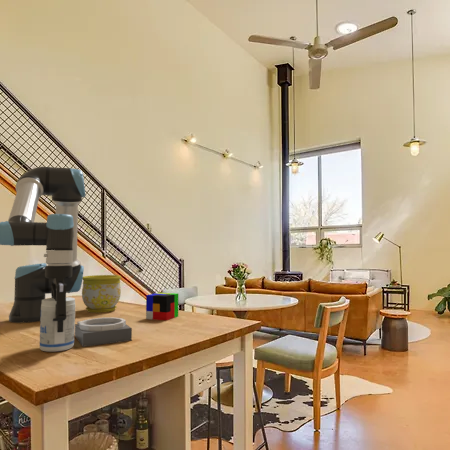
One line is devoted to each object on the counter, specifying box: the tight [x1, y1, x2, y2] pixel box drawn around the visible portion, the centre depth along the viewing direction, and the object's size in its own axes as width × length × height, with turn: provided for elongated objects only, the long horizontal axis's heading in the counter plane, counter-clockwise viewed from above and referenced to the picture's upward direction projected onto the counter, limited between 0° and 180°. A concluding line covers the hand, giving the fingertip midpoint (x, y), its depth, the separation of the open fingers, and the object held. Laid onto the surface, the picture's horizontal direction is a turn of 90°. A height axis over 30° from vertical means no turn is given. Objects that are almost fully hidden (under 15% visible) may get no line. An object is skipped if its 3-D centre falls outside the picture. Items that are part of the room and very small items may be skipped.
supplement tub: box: [39, 296, 76, 353], centre depth 113 cm, size 10×10×15 cm
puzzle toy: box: [145, 292, 179, 321], centre depth 162 cm, size 10×10×10 cm
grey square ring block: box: [74, 317, 133, 348], centre depth 125 cm, size 16×15×6 cm
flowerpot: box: [81, 274, 122, 314], centre depth 180 cm, size 18×18×16 cm
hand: (57, 339), depth 112 cm, fingers closed on supplement tub, 10 cm apart
